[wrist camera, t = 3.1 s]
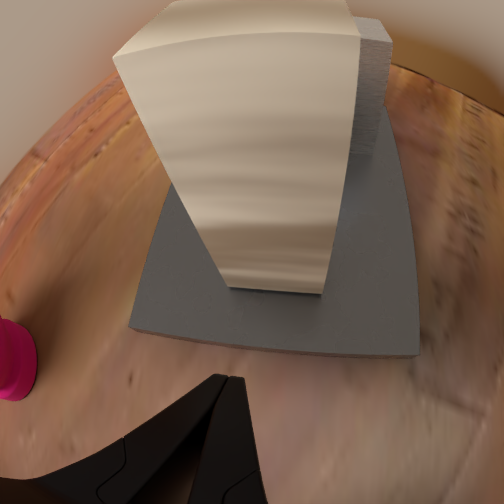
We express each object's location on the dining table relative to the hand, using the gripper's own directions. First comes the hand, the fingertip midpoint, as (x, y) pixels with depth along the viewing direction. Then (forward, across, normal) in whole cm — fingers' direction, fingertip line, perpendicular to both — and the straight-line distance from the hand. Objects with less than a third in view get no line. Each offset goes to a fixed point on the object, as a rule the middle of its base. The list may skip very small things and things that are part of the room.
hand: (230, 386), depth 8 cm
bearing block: (+14, 0, -3) cm, 15 cm away
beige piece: (+13, 0, -4) cm, 14 cm away
